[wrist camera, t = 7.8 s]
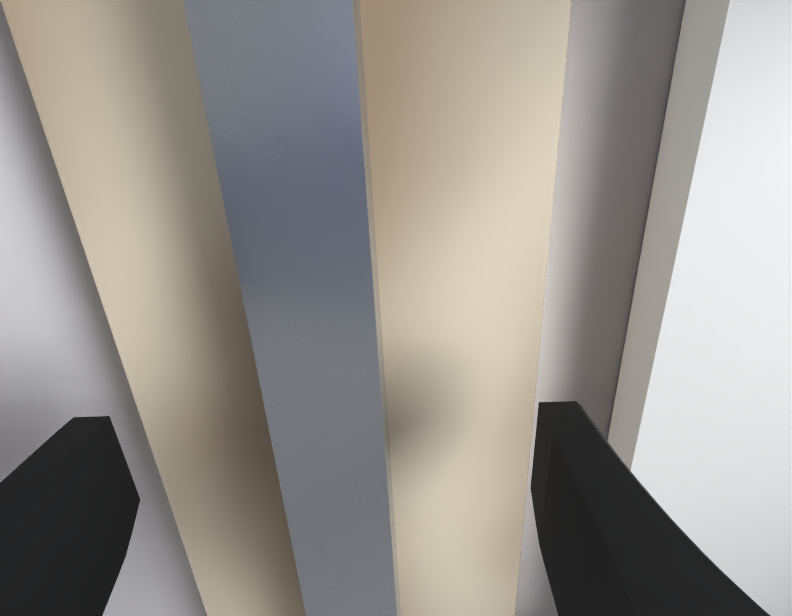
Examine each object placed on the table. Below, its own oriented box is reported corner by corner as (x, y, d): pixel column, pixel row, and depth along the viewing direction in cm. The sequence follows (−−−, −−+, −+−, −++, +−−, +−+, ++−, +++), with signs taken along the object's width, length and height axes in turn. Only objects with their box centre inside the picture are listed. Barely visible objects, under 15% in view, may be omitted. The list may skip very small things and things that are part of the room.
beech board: (581, -305, 8) (602, -325, 8) (506, 620, 19) (511, 654, 19) (-49, -271, 9) (-95, -285, 8) (230, 628, 20) (223, 662, 19)
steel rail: (320, -580, 7) (302, -692, 5) (406, 695, 20) (407, 755, 18) (117, -568, 7) (48, -675, 5) (338, 697, 20) (334, 756, 19)
